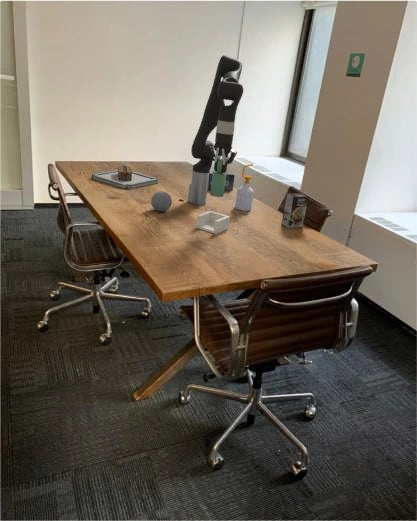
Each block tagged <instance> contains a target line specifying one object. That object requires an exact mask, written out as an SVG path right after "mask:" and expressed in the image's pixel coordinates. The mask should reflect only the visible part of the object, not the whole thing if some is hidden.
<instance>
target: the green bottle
mask: <svg viewBox="0 0 417 521" xmlns="http://www.w3.org/2000/svg"><path fill="white" fill-rule="evenodd" d="M222 165H223V159H222V158H220V159H218V163H217V171H213V172H212V174H213V176H212V184H211V190H210V192H209V193H210V194H209V195H210V197H211V196H212V197H215V198H223V197H224V194H225V191H224V188H225V180H226V174H227V173H226V172H225V173H222Z"/></svg>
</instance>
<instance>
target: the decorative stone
mask: <svg viewBox="0 0 417 521" xmlns="http://www.w3.org/2000/svg"><path fill="white" fill-rule="evenodd" d="M150 202H151V205H152V208H153V209H154V210H156V211H157V212H161V213H163V212H166V211H168V210H169V209H170V208H171V205H172V202H173V201H172V197H171V195H170V194H169V193H168V192H167V191H163V190H162V191H161V190H160V191H156V192H154V194H153V195H152V196H151V200H150Z"/></svg>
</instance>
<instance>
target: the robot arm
mask: <svg viewBox="0 0 417 521" xmlns="http://www.w3.org/2000/svg"><path fill="white" fill-rule="evenodd" d="M242 71H243V63H242V61H241V60H239V59H236V58H233V57H230V56H227V55H222V56H221V57H220V59H219V61H218V64H217V67H216V71H215V76H214V79H213V83H212V87H211V89H210V93H209V97H208V99H207V103H206V105H205V108H204V112H203V116H202V119H201V122H200V124H199V127H198V130H197V133H196V135H195V137H194V139H193V142H192V144H191V150H190V151H191V156H192V157H193V158H194V159H198V162H196V163H195V164H193V165H192V172H191V181H190V183H189V185H188V193H187V202H188V203H190V204H193V205H199V206H203V205H206V204H207V196H208V191H209V190H208V182H209V174H210V172H211V169H212V166H213V170H214V172H216V171H217V163H218V159H223V165H222V173H226V172H227V169H228V165H230V164H232V163H233V162H234V160H235V157H236V156H237V154H238V152H237V151H235V150H234V149H233V146H232V145H233V141H234V134H235V121H236V115H237V110H238V108H239V105H240V101H241V99H242V97H243V94H244V86H243V85H242V83H240V81H239V80H240V78H241V74H242ZM225 100H226V101H232V102H231V104H228V105H225V104H226V103H225V102H226V101H225ZM215 128H216V129H215ZM214 129H215V130H216V131H215V140H214V142H215V143H213V142H212V141H211V140H208V138H209V136H210V134H211V133H212V132H213V131H214ZM213 164H214V165H213Z"/></svg>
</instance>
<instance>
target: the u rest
mask: <svg viewBox="0 0 417 521" xmlns="http://www.w3.org/2000/svg"><path fill="white" fill-rule="evenodd" d="M196 217H197V218H196V224H195V228H196V229H200V230H201V231H206V232H208V233H211V234H215V235H218V234H220V233H222V232H225V231H226V230H228V229H229V226H230V220H231V216H229V215H226V214H222V213H219V212H215V211H212V210H208V211H206V212H203V213H199V214H198V215H197V216H196Z"/></svg>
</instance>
